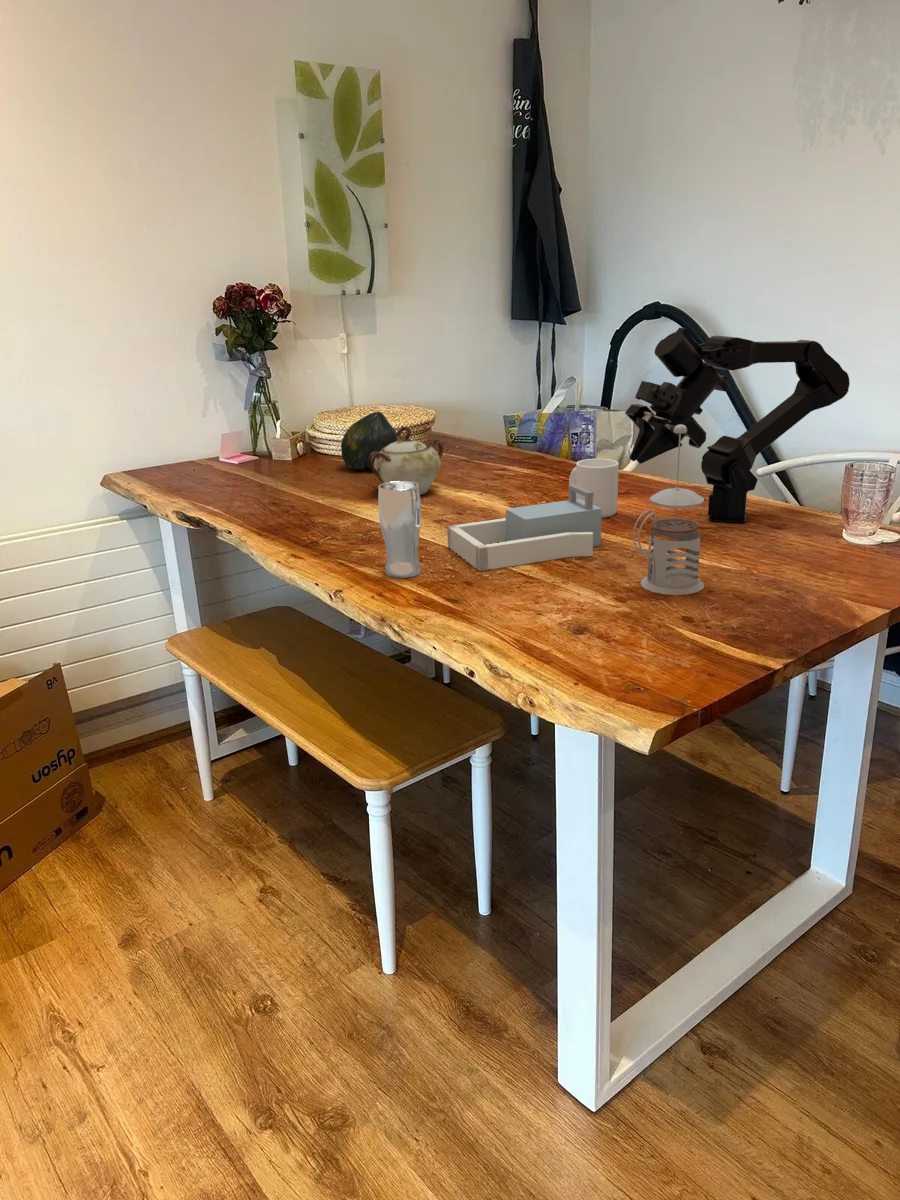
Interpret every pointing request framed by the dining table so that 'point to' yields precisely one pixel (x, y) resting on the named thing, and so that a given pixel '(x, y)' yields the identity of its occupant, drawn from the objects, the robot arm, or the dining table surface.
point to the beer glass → (400, 527)
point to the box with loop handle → (556, 518)
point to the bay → (512, 545)
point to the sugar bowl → (407, 461)
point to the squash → (366, 440)
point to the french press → (673, 542)
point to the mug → (598, 483)
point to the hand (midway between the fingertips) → (634, 460)
